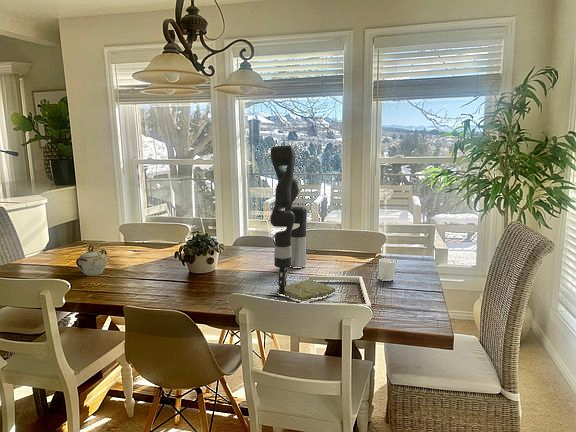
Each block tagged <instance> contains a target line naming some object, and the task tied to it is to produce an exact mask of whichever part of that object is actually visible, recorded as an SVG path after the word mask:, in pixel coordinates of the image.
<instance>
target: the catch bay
mask: <svg viewBox="0 0 576 432" xmlns="http://www.w3.org/2000/svg"><path fill="white" fill-rule="evenodd" d="M308 276H309V277H308V280H359V282H360V286H361V289H360V291H361V290H362V293H363V296H362V298H363V297H364V300H365V303H366V304H365V303H358V304H359V305H365V306H368V307H370V308H371V309H372V303H371V301H370V298H369V294H368V291H367V289H366V285H365V281H364V278H363V276H358V275H353V276H352V275H314V274H313V275H311V274H310V275H308ZM360 286H359V287H360ZM362 293H361V294H362ZM364 300H363V301H364ZM314 303H315V304H347V303H344V302H343V303H341V302H337V303H335V302H333V303H332V302H314Z"/></svg>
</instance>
